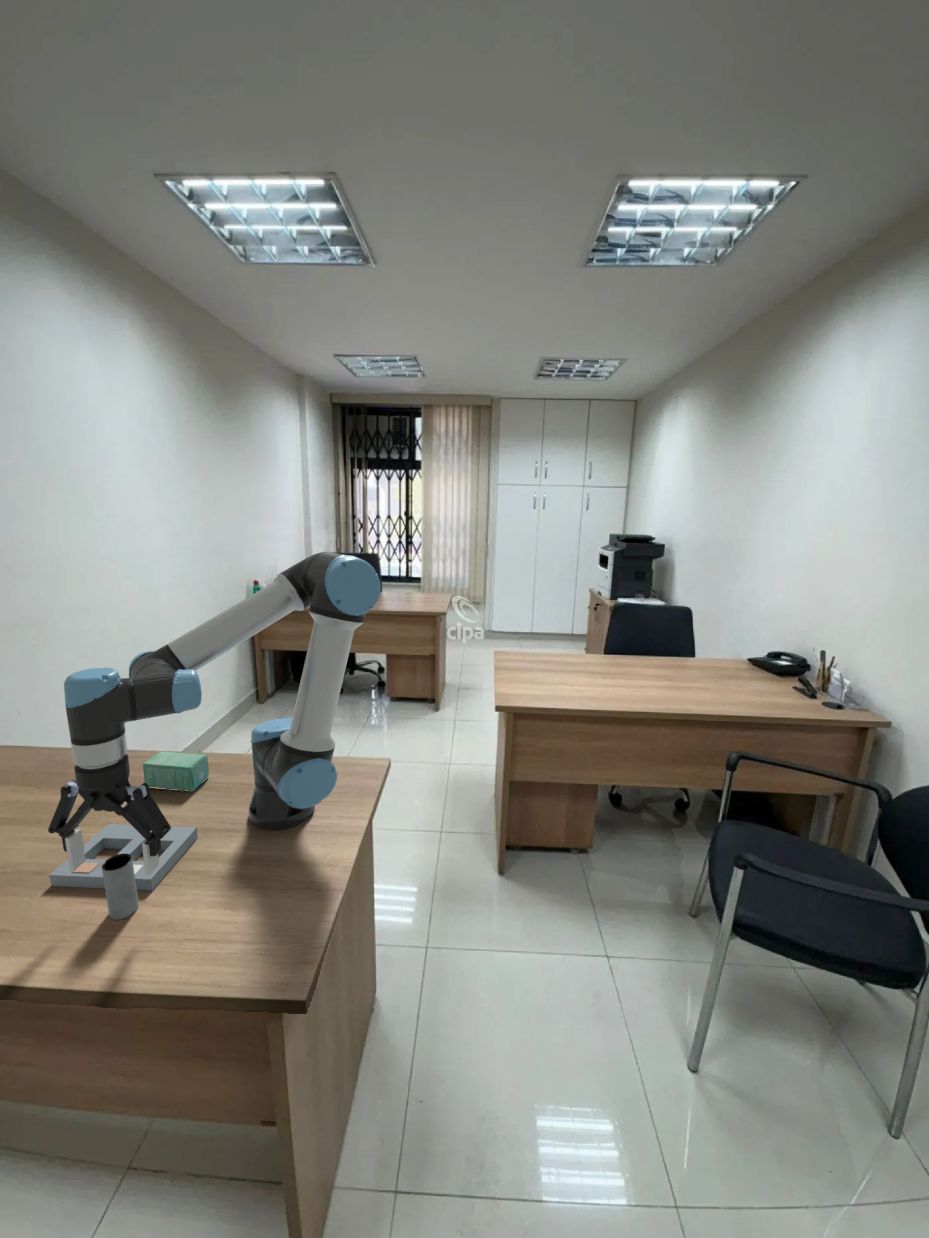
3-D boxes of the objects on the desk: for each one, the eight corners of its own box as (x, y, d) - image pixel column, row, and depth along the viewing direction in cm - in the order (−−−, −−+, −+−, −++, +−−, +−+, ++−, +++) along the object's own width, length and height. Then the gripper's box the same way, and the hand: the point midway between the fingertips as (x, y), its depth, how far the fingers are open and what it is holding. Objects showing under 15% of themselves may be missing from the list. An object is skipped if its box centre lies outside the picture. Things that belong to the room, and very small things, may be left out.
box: (194, 793, 130) (191, 766, 128) (144, 790, 131) (141, 763, 129) (210, 778, 137) (208, 753, 136) (163, 775, 138) (160, 750, 137)
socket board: (197, 837, 113) (196, 826, 112) (152, 890, 97) (150, 878, 97) (110, 833, 113) (108, 823, 113) (51, 886, 98) (49, 873, 97)
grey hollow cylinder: (118, 901, 94) (111, 853, 92) (143, 900, 95) (137, 852, 93) (103, 920, 90) (95, 871, 88) (130, 919, 90) (123, 870, 88)
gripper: (186, 752, 89) (195, 857, 94) (48, 745, 90) (63, 850, 94) (159, 773, 82) (170, 887, 86) (9, 766, 82) (28, 879, 87)
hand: (115, 868), depth 90 cm, fingers open, 13 cm apart
